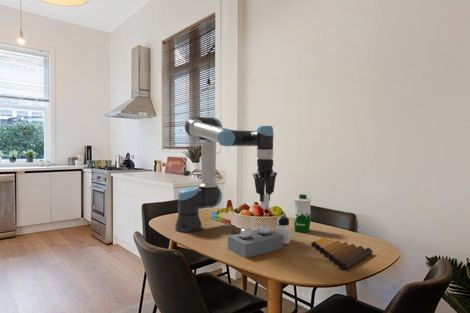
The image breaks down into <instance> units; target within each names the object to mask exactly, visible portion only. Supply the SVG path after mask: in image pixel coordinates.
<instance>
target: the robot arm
mask: <svg viewBox="0 0 470 313" xmlns="http://www.w3.org/2000/svg"><path fill="white" fill-rule="evenodd" d="M184 130H185V132H186V134H187V135H188V136H191V137H193V138H198V141H200V144H201V160H200V161H201V162H200V163H201V167H200V168H201V172H200V174H201V175H200V176H201V178H200V179H201V182H200V184H199V185H198V186H197V187H196V186H191V187H185V188H181V189H180V190H179V191H178V193H177V218H176V221H175V224H174V225H175V226H174V230H175V231H176V232H181V233H192V232H197V231H201V230H202V226H203V225H202V222H201V219H200V216H199V213H200V212H199V210H201V209H209V208H211V209H212V208H214V207H218V206H219V205H220V204H221V203H222V199H223V198H222V197H223V193H222V190H221V189H220V187H219V185H218V183H217V180H216V179H217V176H216V174H217V173H216V170H217V169H216V168H217V167H216V166H217V163H216V162H217V143H218V144H219V145H220V146H223V147H257V148H256V153H257V154H256V157H257V160H256V163H257V164H256V165H257V166H256V167H257V170H256V172H254V173H252V176H253V178H254V186H255V193H256V194H257V195H259V202H260V208H261V209H264V210H266V209H270V201H271V195H272V193H274V192H275V185H276V184H275V183H276V178H277V175H278V173H277V171H274V169H273V167H274V159H273V158H274V136H275V134H274V128H273V126H271V125H258V126H257V130H241V129H239V130H234V129H230V128H225V127H223V125H222V122H221V121H220V119H218V118H216V117H205V116H204V117H202V116H192V117H190V118H188V119H187V120H186V121H185V124H184Z"/></svg>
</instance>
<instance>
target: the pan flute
mask: <svg viewBox="0 0 470 313" xmlns="http://www.w3.org/2000/svg"><path fill="white" fill-rule="evenodd" d="M311 247H312V248H314V249H315V251H318V252H319V254H322V255H323V257H324V258H327V259H328V261H329V262H333V264H334V265H335V266H338V268H339V270H342V271H346V272H347V271H348V270H350V269H352V268H353V267H355V266H357V265H358V264H359V263H361V262H362V261H364V260H366V259H367V258H368V257H370V256H372V254H373V250H372V248H370V247H366V248H365V247H363V246H362V245H359V246H356V245H355V244H354V243H351V244H350V245H349V243H348V242H346V241H345V242H341V241H340V240H339V239H338V240H336V241H335V240H334V239H333V238H330V239H328V238H327V237H326V236H324V237H322V238H319V239H316V240H315V241H312V242H311Z"/></svg>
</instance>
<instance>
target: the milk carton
mask: <svg viewBox="0 0 470 313" xmlns="http://www.w3.org/2000/svg"><path fill="white" fill-rule="evenodd" d="M293 202H294V203H293V205H294V206H293V207H294V208H293V220H294V221H293V224H294V226H293V227H294V232H297V233H308V232H309V230H310V227H311V226H310V225H311V198H309V197H307V194H304V193H303V194H302V193H301V194H299V197H296V198H295V199H294V200H293Z"/></svg>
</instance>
